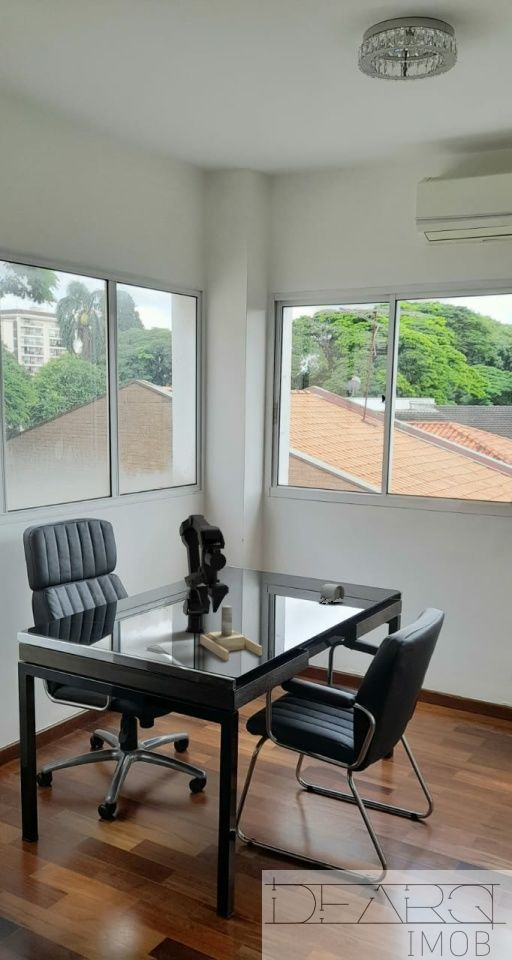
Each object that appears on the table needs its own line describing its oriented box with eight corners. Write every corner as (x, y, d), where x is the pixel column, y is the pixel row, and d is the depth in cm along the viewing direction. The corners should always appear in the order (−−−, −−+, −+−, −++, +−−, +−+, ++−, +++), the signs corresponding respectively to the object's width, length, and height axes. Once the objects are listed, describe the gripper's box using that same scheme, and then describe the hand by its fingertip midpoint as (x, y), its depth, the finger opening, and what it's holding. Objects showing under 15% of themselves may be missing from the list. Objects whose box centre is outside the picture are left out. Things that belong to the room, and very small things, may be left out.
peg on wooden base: (208, 644, 262) (208, 605, 261) (232, 641, 267) (232, 602, 265) (219, 652, 255) (220, 611, 253) (244, 648, 259) (245, 608, 258)
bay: (198, 646, 264) (198, 634, 263) (235, 641, 270) (235, 630, 270) (224, 664, 246) (224, 651, 246) (263, 658, 253) (263, 646, 252)
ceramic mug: (329, 598, 335) (330, 580, 334) (345, 601, 329) (345, 583, 328) (314, 602, 327) (314, 584, 326) (329, 606, 321) (329, 588, 321)
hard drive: (146, 646, 259) (176, 653, 252) (162, 640, 266) (191, 647, 259) (146, 651, 259) (176, 658, 252) (162, 645, 266) (191, 652, 259)
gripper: (176, 561, 268) (176, 605, 270) (199, 571, 252) (198, 618, 253) (206, 558, 274) (205, 602, 275) (230, 568, 257) (229, 615, 259)
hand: (208, 609), depth 265 cm, fingers open, 9 cm apart
